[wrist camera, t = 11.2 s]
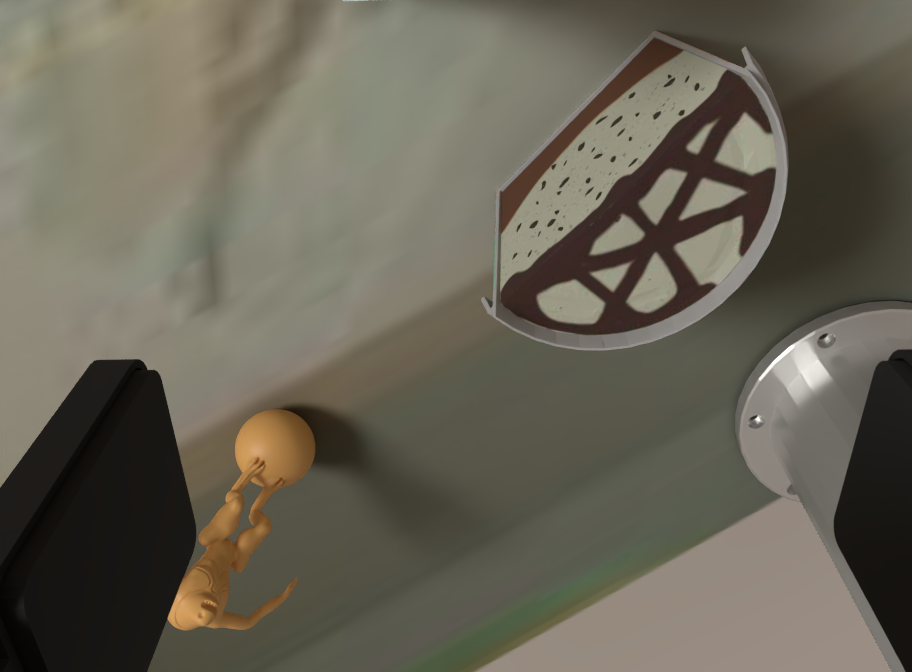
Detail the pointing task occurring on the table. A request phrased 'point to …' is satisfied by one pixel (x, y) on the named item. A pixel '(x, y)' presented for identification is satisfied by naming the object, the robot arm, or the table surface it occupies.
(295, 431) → the figurine
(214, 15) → the table surface
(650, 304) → the food container
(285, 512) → the table surface
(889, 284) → the table surface
